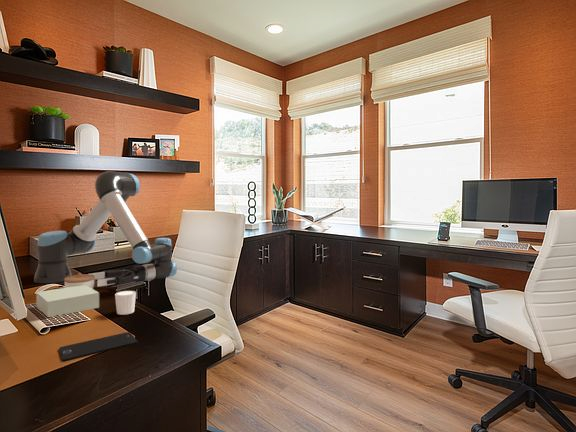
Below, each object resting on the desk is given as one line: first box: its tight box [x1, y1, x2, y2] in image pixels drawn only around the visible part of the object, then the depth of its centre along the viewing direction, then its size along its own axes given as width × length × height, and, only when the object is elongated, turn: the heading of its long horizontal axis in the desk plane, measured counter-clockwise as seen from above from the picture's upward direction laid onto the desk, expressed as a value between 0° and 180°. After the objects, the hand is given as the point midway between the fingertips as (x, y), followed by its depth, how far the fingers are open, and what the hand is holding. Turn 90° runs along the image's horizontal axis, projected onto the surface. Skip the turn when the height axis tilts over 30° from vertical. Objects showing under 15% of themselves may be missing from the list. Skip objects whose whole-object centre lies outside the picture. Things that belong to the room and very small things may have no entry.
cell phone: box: [58, 331, 138, 362], centre depth 94 cm, size 9×18×1 cm, turn 129°
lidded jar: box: [63, 272, 95, 290], centre depth 140 cm, size 11×11×9 cm
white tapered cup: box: [114, 290, 137, 316], centre depth 121 cm, size 7×7×7 cm
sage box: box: [35, 285, 100, 318], centre depth 125 cm, size 16×16×6 cm
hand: (92, 280), depth 142 cm, fingers open, 13 cm apart
